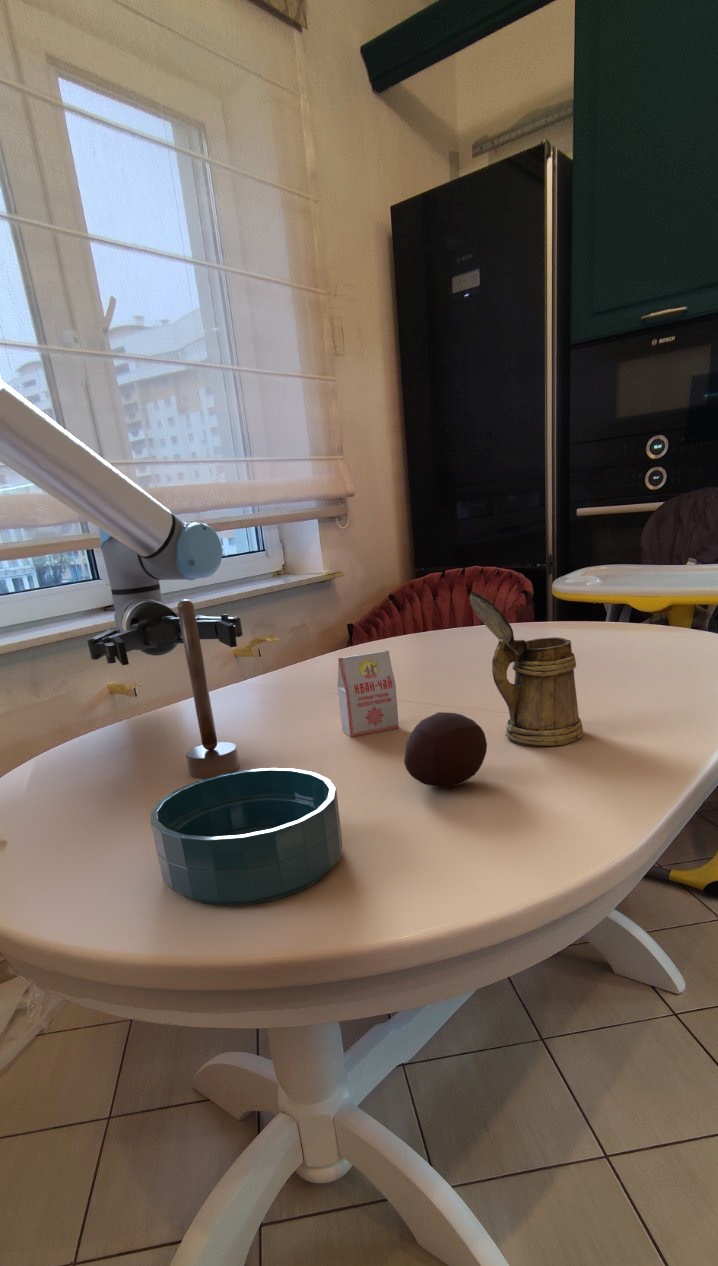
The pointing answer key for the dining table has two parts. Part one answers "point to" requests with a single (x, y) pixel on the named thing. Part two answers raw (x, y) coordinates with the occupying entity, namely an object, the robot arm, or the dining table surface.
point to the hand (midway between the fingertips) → (179, 644)
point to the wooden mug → (533, 682)
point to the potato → (445, 750)
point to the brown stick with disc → (203, 707)
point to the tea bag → (367, 694)
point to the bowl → (247, 835)
